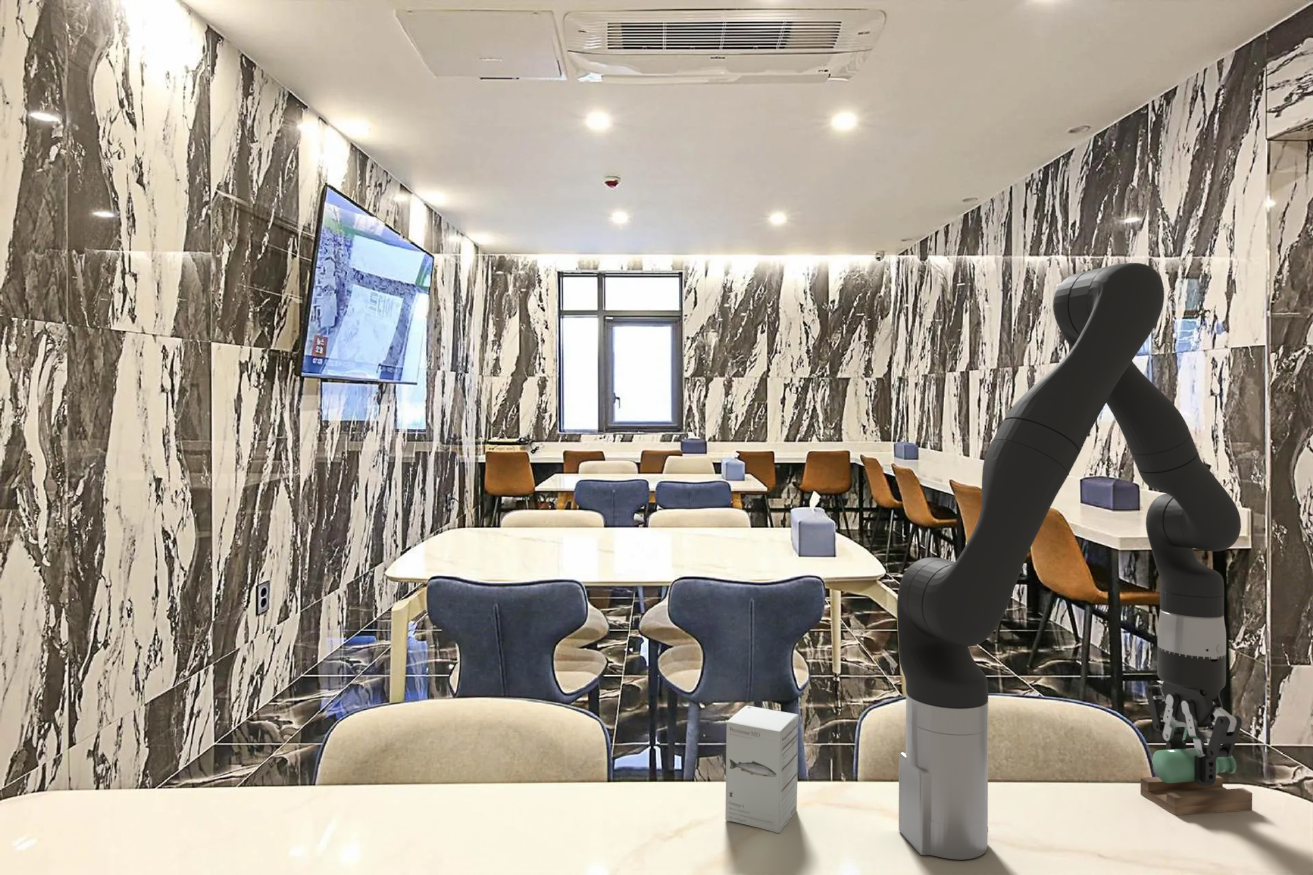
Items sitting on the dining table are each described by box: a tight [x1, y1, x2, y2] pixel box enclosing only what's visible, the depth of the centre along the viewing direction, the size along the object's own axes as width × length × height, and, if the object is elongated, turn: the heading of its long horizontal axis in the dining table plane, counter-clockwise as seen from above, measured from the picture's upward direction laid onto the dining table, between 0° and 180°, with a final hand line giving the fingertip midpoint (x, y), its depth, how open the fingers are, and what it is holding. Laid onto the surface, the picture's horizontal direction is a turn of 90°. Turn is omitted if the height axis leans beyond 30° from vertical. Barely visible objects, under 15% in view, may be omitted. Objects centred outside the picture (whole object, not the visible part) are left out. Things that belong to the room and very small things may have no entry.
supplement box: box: [724, 705, 800, 834], centre depth 103 cm, size 7×7×13 cm
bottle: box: [1151, 747, 1238, 783], centre depth 107 cm, size 9×4×4 cm, turn 98°
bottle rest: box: [1140, 774, 1253, 816], centre depth 107 cm, size 11×6×2 cm, turn 98°
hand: (1190, 776), depth 107 cm, fingers closed on bottle, 4 cm apart
